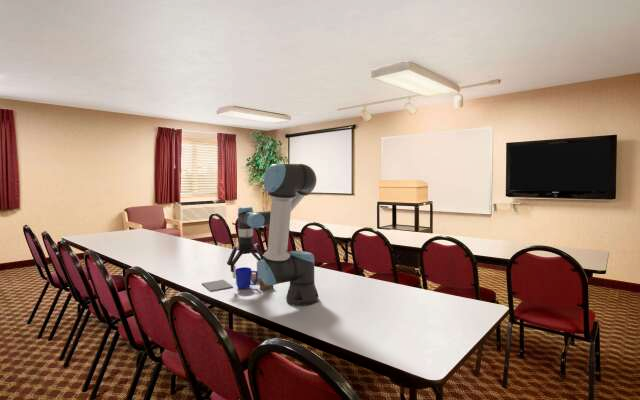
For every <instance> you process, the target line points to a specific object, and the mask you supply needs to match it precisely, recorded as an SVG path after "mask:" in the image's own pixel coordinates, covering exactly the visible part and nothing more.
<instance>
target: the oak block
mask: <svg viewBox="0 0 640 400" xmlns="http://www.w3.org/2000/svg"><path fill="white" fill-rule="evenodd" d="M260 279H261V278H260V276H259V274H258V278H257V283H260ZM255 281H256V273H255V272H252V273H251V283H252V284H254V283H255Z"/></svg>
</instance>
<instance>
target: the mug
mask: <svg viewBox="0 0 640 400" xmlns="http://www.w3.org/2000/svg"><path fill="white" fill-rule="evenodd" d="M252 272H255V273H256V281H255V283H253V282H252V281H251V273H252ZM257 278H258V271H257V270H252V267H248V266H247V267H246V266H245V267H238V268H236V278H235V282H236V281H237V283H236V287H237V289H239V290H246V289H249V288H250V287H251V286H255V285H256V284H257V283H258V282H257Z"/></svg>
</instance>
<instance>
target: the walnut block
mask: <svg viewBox="0 0 640 400" xmlns="http://www.w3.org/2000/svg"><path fill="white" fill-rule="evenodd" d="M259 289H260V290H263V291H269V290H272V289H274V285H265V284H264V283H263V282H262V280H261V279H260V282H259Z"/></svg>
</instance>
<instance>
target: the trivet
mask: <svg viewBox="0 0 640 400" xmlns="http://www.w3.org/2000/svg"><path fill="white" fill-rule="evenodd" d="M201 285H202V286H203V287H204V288H205V289H207V290H208V291H209V292H211V293H212V292H216V291H222V290H226V289H231V288H232V289H233V288H234V286H233V285H231V284H230V283H229V282H227V281H226V280H225V279H219V280H213V281H206V282H202V283H201Z"/></svg>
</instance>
